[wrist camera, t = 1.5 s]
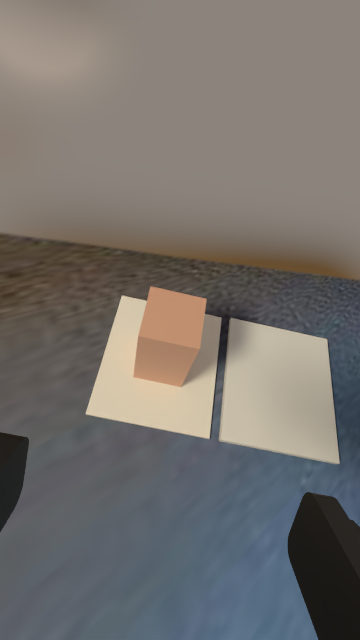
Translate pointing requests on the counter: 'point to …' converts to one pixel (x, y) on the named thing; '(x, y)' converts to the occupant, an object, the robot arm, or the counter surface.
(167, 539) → the counter surface
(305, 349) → the beige board
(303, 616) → the counter surface
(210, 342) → the cream tile
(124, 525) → the counter surface
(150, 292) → the block
